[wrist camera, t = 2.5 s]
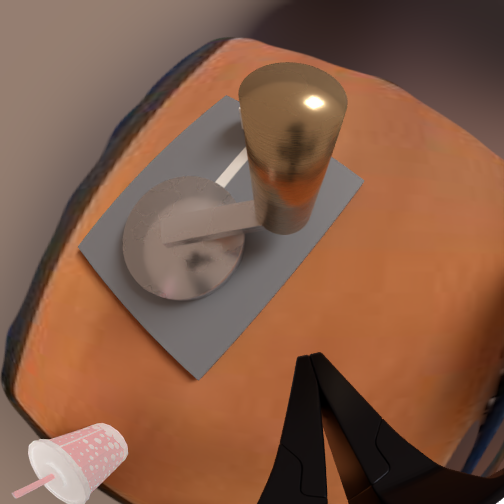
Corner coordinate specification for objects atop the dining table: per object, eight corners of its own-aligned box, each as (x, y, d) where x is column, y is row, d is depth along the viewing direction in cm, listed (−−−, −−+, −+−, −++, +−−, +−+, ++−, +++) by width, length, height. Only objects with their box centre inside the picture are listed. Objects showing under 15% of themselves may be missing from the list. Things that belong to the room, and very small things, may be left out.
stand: (201, 378, 21) (177, 396, 15) (83, 249, 24) (44, 230, 18) (361, 185, 24) (383, 148, 18) (227, 101, 27) (219, 59, 21)
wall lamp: (135, 307, 21) (1, 281, 8) (130, 198, 24) (39, 106, 10) (319, 278, 21) (395, 206, 7) (292, 165, 23) (306, 29, 10)
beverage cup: (83, 449, 19) (-6, 492, 5) (86, 405, 20) (-20, 437, 7) (132, 477, 18) (53, 545, 5) (138, 433, 20) (41, 498, 6)
